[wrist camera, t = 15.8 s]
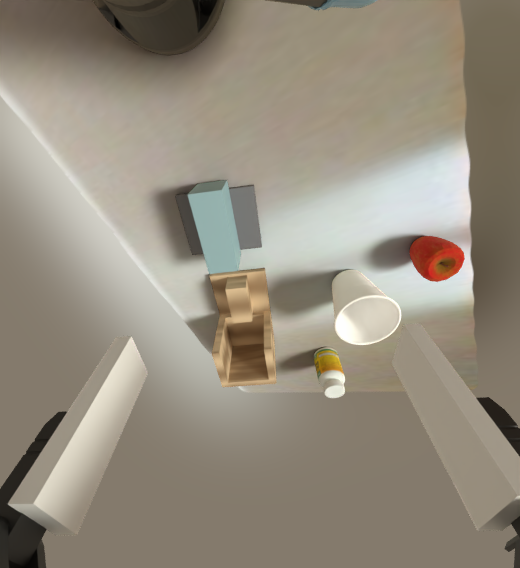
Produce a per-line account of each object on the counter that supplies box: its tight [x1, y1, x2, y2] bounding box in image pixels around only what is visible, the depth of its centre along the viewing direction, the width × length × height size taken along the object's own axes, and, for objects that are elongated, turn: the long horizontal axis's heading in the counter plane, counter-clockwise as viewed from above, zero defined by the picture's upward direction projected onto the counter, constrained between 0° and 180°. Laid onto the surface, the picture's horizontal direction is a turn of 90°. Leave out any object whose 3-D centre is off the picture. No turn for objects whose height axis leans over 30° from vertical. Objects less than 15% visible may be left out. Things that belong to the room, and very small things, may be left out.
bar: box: [188, 180, 241, 274], centre depth 40 cm, size 12×4×6 cm, turn 7°
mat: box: [175, 185, 262, 255], centre depth 43 cm, size 10×12×1 cm
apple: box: [410, 236, 464, 282], centre depth 42 cm, size 6×6×8 cm
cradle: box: [210, 268, 276, 387], centre depth 48 cm, size 18×10×11 cm, turn 7°
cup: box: [332, 270, 401, 345], centre depth 45 cm, size 10×10×11 cm
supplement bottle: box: [314, 347, 345, 398], centre depth 56 cm, size 5×5×10 cm
